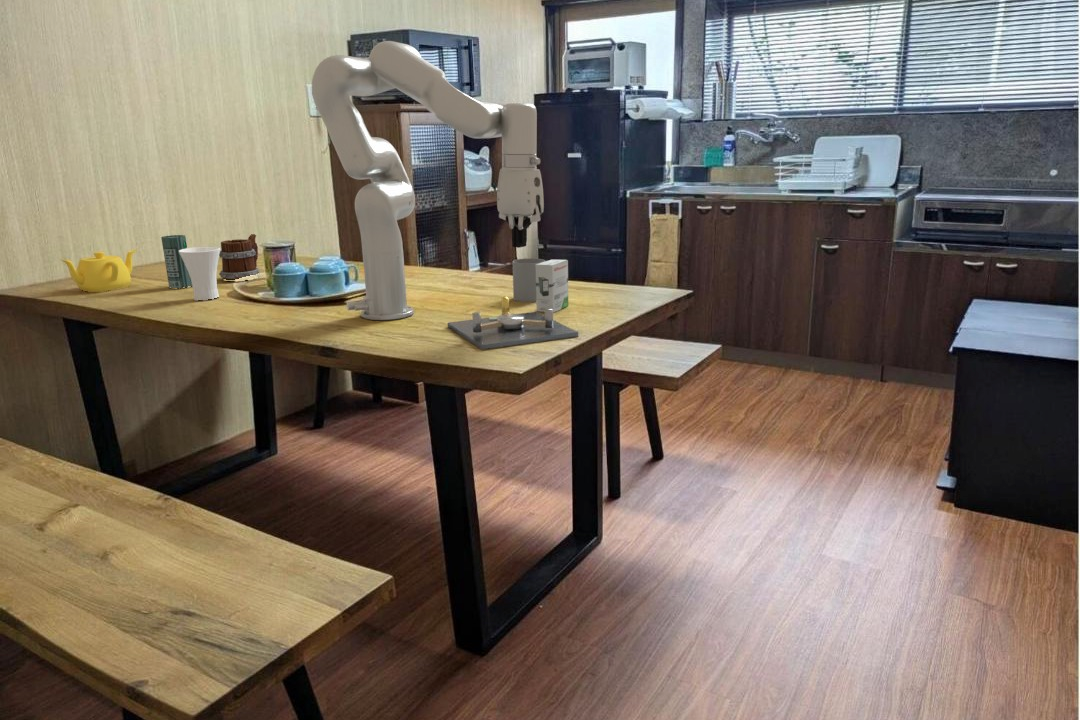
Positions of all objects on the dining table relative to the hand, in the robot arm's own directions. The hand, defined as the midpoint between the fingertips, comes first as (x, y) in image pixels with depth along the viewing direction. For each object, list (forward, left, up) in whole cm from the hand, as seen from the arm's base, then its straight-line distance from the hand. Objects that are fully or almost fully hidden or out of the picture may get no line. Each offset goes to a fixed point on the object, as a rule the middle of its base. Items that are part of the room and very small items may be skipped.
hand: (519, 246), depth 176 cm
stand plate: (-5, -7, -18) cm, 20 cm away
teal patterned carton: (-71, +90, -18) cm, 116 cm away
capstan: (-5, -5, -16) cm, 18 cm away
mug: (-52, +96, -18) cm, 111 cm away
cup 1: (-64, +68, -18) cm, 96 cm away
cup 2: (+13, +23, -18) cm, 32 cm away
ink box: (+12, +9, -18) cm, 24 cm away
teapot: (-90, +100, -18) cm, 136 cm away
